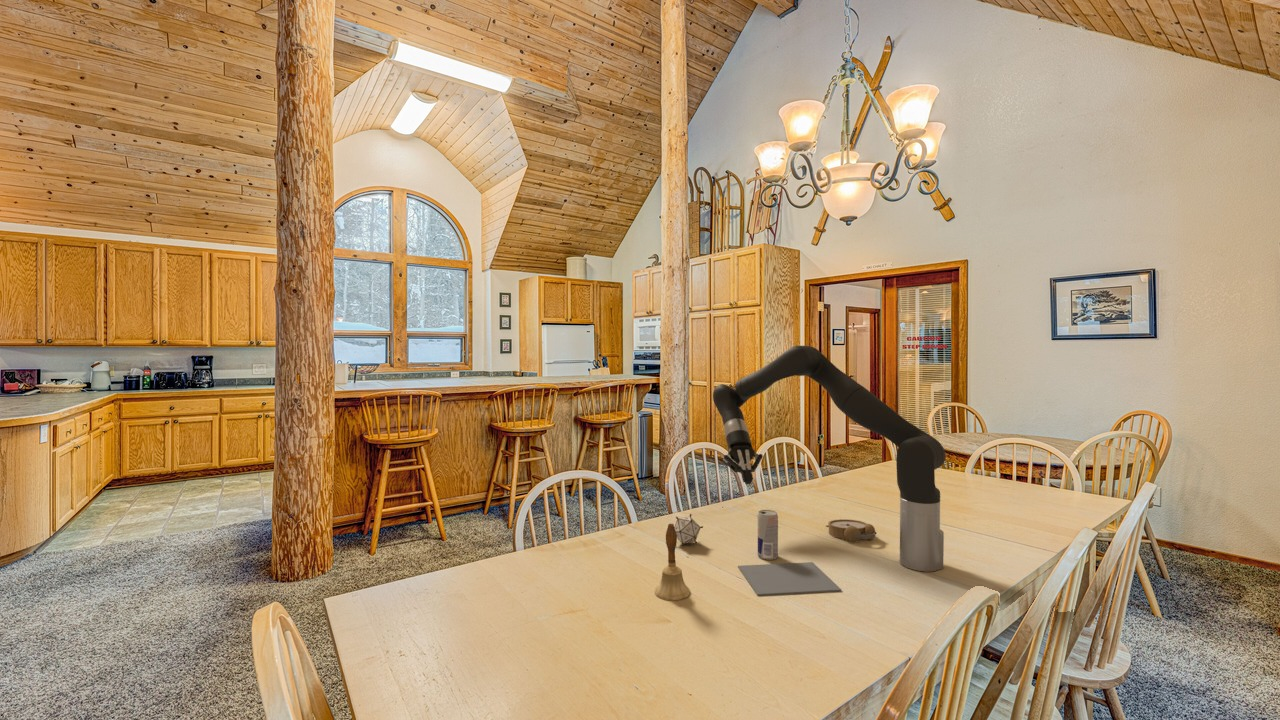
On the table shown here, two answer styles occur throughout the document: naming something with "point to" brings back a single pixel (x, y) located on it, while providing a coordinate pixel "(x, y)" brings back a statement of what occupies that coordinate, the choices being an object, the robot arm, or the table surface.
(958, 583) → the table surface
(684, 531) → the game die
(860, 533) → the alarm clock
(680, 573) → the hand bell
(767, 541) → the energy drink
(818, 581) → the slate mat
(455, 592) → the table surface
